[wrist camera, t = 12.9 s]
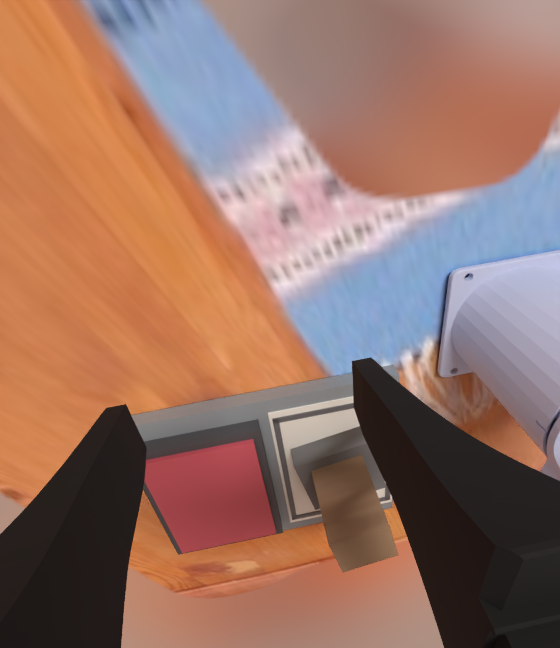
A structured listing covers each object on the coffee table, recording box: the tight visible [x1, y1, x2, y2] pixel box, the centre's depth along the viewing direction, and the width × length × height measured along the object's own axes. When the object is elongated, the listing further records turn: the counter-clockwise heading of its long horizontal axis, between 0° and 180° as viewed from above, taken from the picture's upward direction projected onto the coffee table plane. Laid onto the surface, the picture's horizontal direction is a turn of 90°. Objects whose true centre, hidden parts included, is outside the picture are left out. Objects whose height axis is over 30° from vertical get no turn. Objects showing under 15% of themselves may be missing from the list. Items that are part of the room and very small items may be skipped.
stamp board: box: [131, 365, 399, 555], centre depth 29 cm, size 18×15×2 cm
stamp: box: [290, 426, 398, 572], centre depth 26 cm, size 6×6×6 cm
